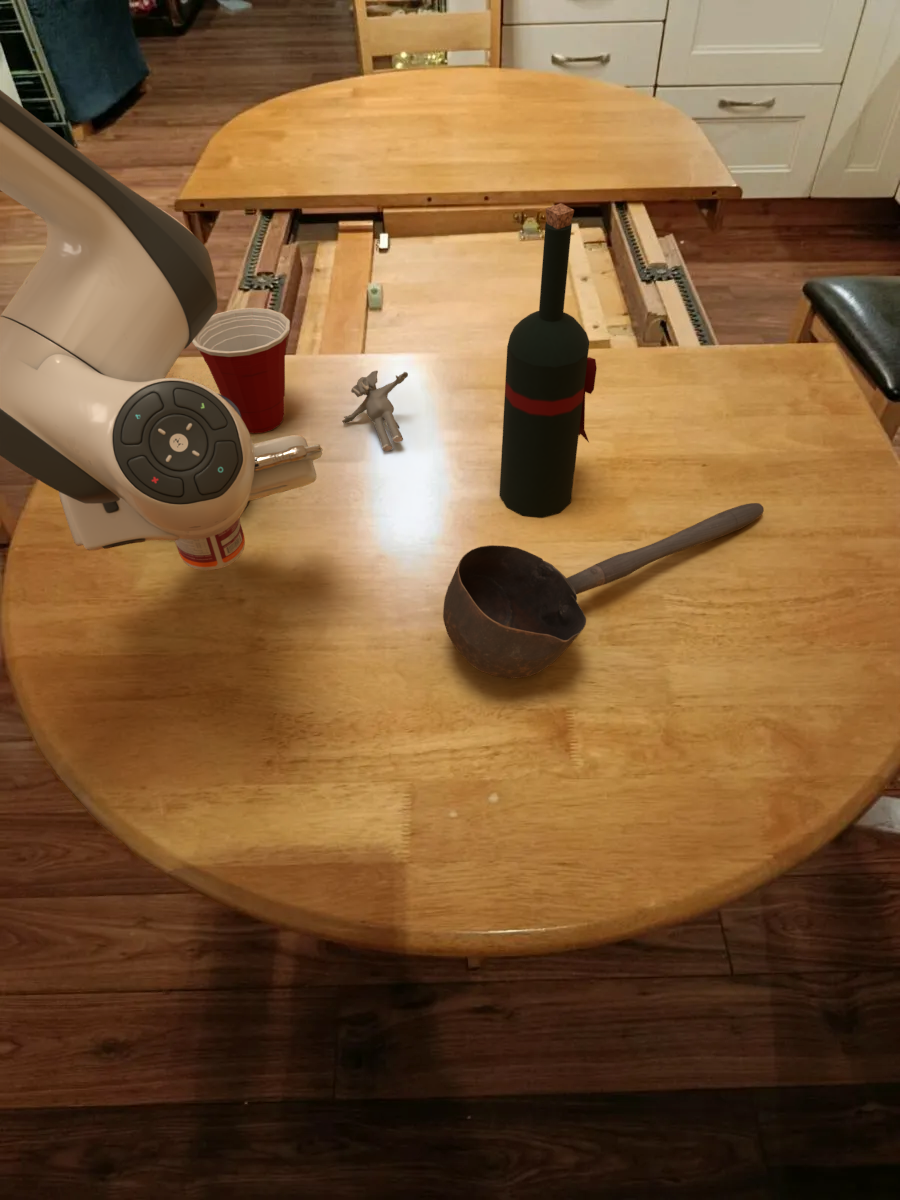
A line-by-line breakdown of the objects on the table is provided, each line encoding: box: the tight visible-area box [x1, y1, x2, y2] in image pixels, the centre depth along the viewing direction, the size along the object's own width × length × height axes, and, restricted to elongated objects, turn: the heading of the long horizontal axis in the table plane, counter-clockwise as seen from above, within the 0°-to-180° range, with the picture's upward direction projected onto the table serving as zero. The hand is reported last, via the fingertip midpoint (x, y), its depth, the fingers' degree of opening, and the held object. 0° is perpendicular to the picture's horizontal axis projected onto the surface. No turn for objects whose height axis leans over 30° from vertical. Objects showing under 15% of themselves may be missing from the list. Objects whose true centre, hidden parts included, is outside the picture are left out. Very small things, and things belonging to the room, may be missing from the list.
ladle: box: [442, 502, 765, 679], centre depth 80 cm, size 12×38×10 cm, turn 124°
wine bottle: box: [498, 203, 598, 519], centre depth 80 cm, size 8×10×30 cm
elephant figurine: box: [341, 370, 409, 452], centre depth 97 cm, size 10×6×9 cm
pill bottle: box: [174, 517, 246, 571], centre depth 76 cm, size 6×6×11 cm
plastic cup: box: [191, 307, 291, 434], centre depth 96 cm, size 11×11×12 cm
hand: (197, 499), depth 76 cm, fingers closed on pill bottle, 6 cm apart
